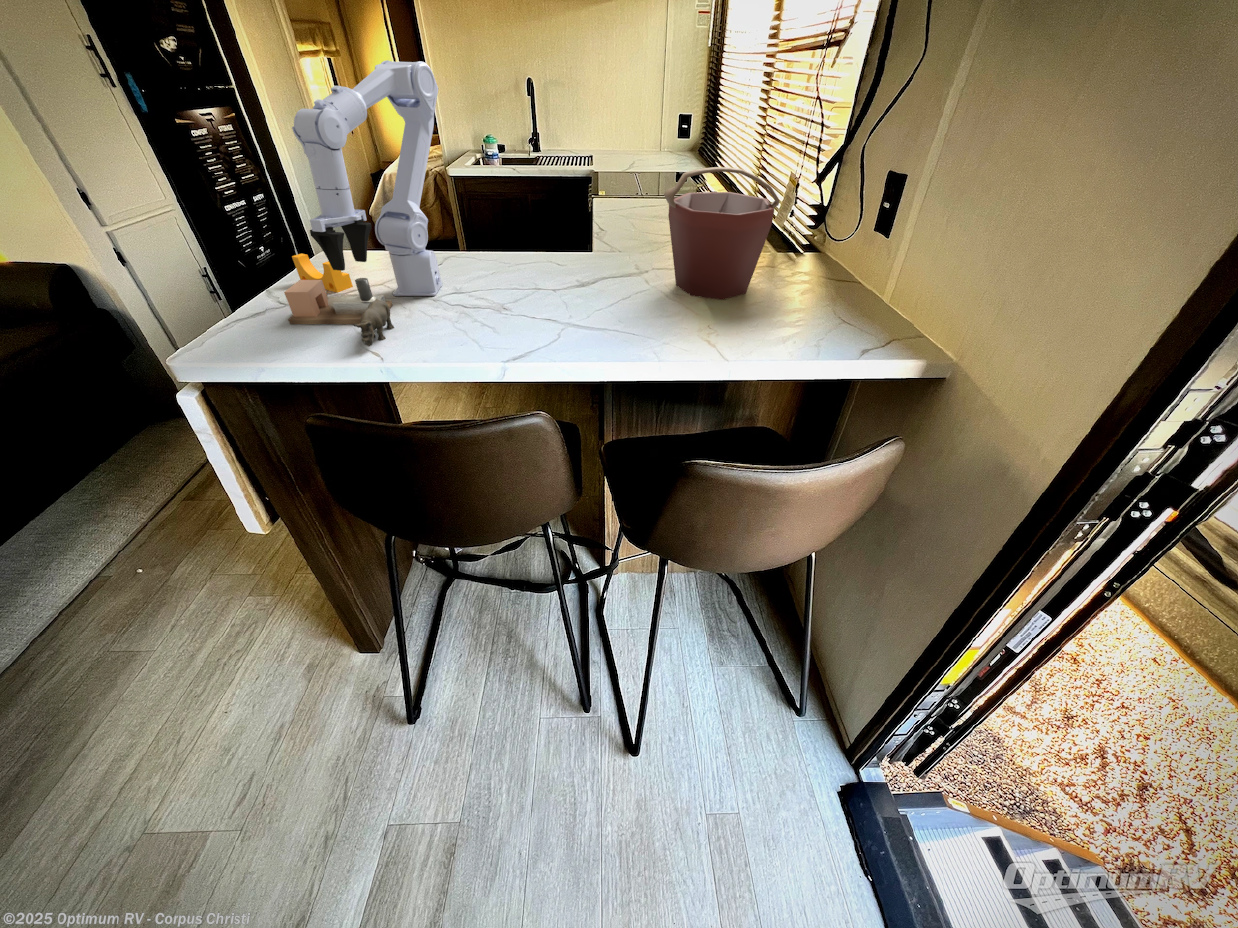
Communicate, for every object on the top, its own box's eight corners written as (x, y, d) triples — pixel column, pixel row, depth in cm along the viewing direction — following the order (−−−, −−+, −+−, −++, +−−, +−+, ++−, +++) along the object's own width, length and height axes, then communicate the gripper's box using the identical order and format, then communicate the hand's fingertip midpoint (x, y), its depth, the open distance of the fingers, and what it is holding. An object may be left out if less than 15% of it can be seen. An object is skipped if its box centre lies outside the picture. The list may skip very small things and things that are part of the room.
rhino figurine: (354, 354, 94) (343, 323, 90) (377, 323, 104) (369, 294, 101) (377, 354, 94) (367, 323, 90) (398, 323, 105) (390, 294, 101)
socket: (330, 303, 109) (321, 280, 106) (316, 316, 104) (307, 292, 101) (308, 303, 109) (299, 280, 106) (293, 316, 104) (284, 292, 101)
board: (392, 305, 112) (391, 300, 111) (377, 323, 104) (376, 319, 103) (310, 305, 111) (309, 300, 110) (289, 324, 103) (287, 319, 103)
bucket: (650, 295, 119) (657, 173, 103) (671, 266, 135) (680, 157, 120) (758, 308, 113) (782, 181, 98) (766, 276, 130) (787, 164, 114)
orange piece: (353, 287, 120) (344, 259, 116) (337, 293, 117) (328, 264, 113) (317, 279, 124) (308, 251, 120) (302, 284, 121) (291, 256, 117)
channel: (386, 305, 109) (383, 295, 108) (379, 313, 105) (376, 303, 104) (344, 305, 109) (341, 295, 107) (336, 314, 105) (332, 303, 104)
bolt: (378, 306, 108) (370, 277, 104) (374, 310, 106) (366, 282, 102) (334, 306, 108) (325, 277, 104) (330, 310, 106) (320, 282, 102)
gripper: (329, 193, 88) (348, 275, 95) (374, 186, 100) (388, 259, 107) (290, 190, 88) (312, 272, 96) (340, 183, 100) (356, 256, 108)
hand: (350, 265), depth 101 cm, fingers open, 7 cm apart
